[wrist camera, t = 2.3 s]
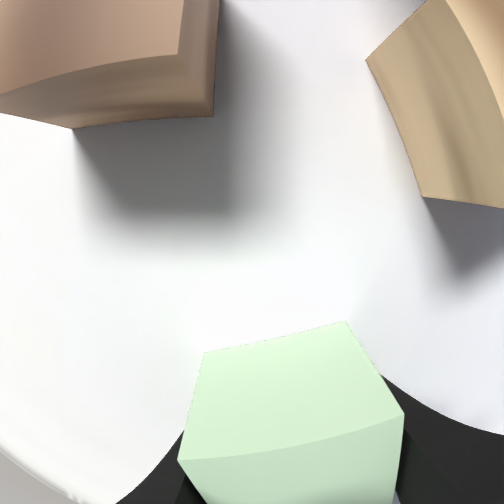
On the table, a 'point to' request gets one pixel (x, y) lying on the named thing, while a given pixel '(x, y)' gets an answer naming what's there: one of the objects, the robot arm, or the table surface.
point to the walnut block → (107, 60)
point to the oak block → (449, 97)
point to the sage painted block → (293, 423)
